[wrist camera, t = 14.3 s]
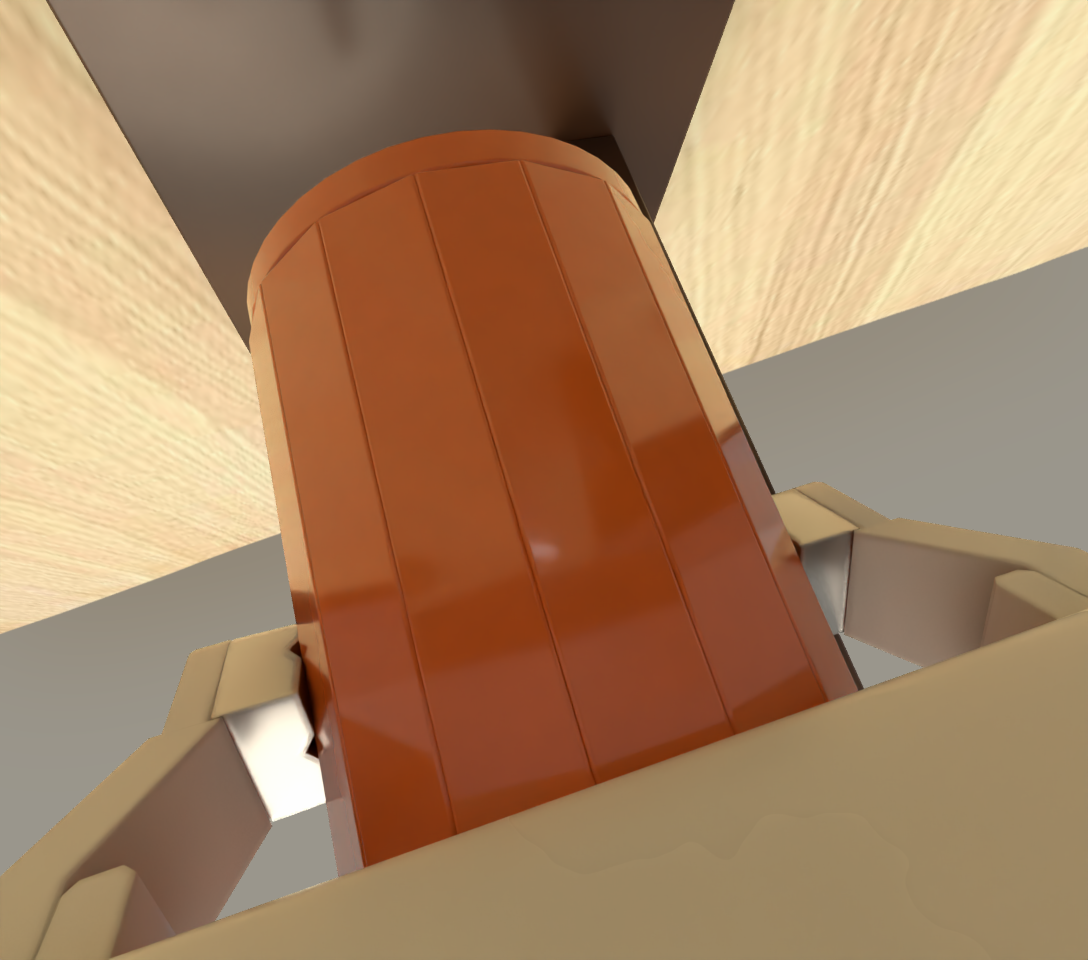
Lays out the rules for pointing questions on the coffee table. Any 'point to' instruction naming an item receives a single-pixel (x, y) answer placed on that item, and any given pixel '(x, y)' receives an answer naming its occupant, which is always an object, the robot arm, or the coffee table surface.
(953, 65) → the coffee table surface
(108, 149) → the coffee table surface
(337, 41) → the mug tree
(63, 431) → the coffee table surface
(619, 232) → the mug
